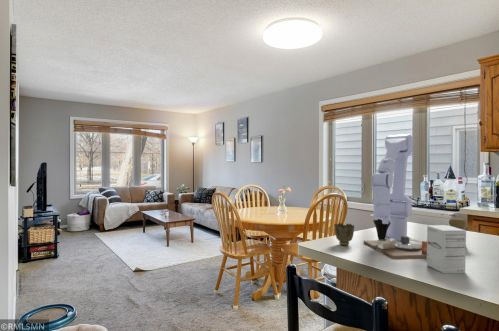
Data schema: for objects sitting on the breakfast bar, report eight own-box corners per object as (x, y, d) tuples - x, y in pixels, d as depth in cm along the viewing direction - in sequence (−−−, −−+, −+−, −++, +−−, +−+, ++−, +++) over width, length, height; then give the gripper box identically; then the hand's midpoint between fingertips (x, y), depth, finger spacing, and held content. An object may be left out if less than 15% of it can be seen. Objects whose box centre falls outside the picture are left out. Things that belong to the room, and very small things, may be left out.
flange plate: (405, 241, 120) (405, 234, 120) (429, 248, 110) (429, 240, 110) (370, 244, 115) (370, 236, 115) (391, 252, 105) (391, 244, 105)
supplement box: (425, 265, 96) (426, 225, 96) (448, 264, 96) (448, 224, 96) (442, 273, 88) (443, 230, 88) (466, 273, 89) (467, 229, 89)
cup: (355, 243, 121) (355, 223, 121) (353, 248, 114) (353, 227, 114) (335, 241, 124) (336, 222, 124) (332, 246, 117) (332, 225, 117)
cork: (469, 249, 113) (469, 219, 113) (451, 248, 115) (451, 219, 115) (461, 245, 119) (462, 217, 119) (444, 244, 121) (444, 216, 121)
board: (363, 243, 122) (363, 230, 122) (414, 241, 125) (414, 229, 125) (393, 258, 102) (393, 243, 102) (453, 256, 105) (453, 242, 105)
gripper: (367, 201, 125) (367, 234, 125) (373, 206, 111) (373, 243, 111) (386, 201, 123) (386, 235, 123) (394, 206, 109) (394, 244, 109)
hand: (381, 239), depth 117 cm, fingers closed
